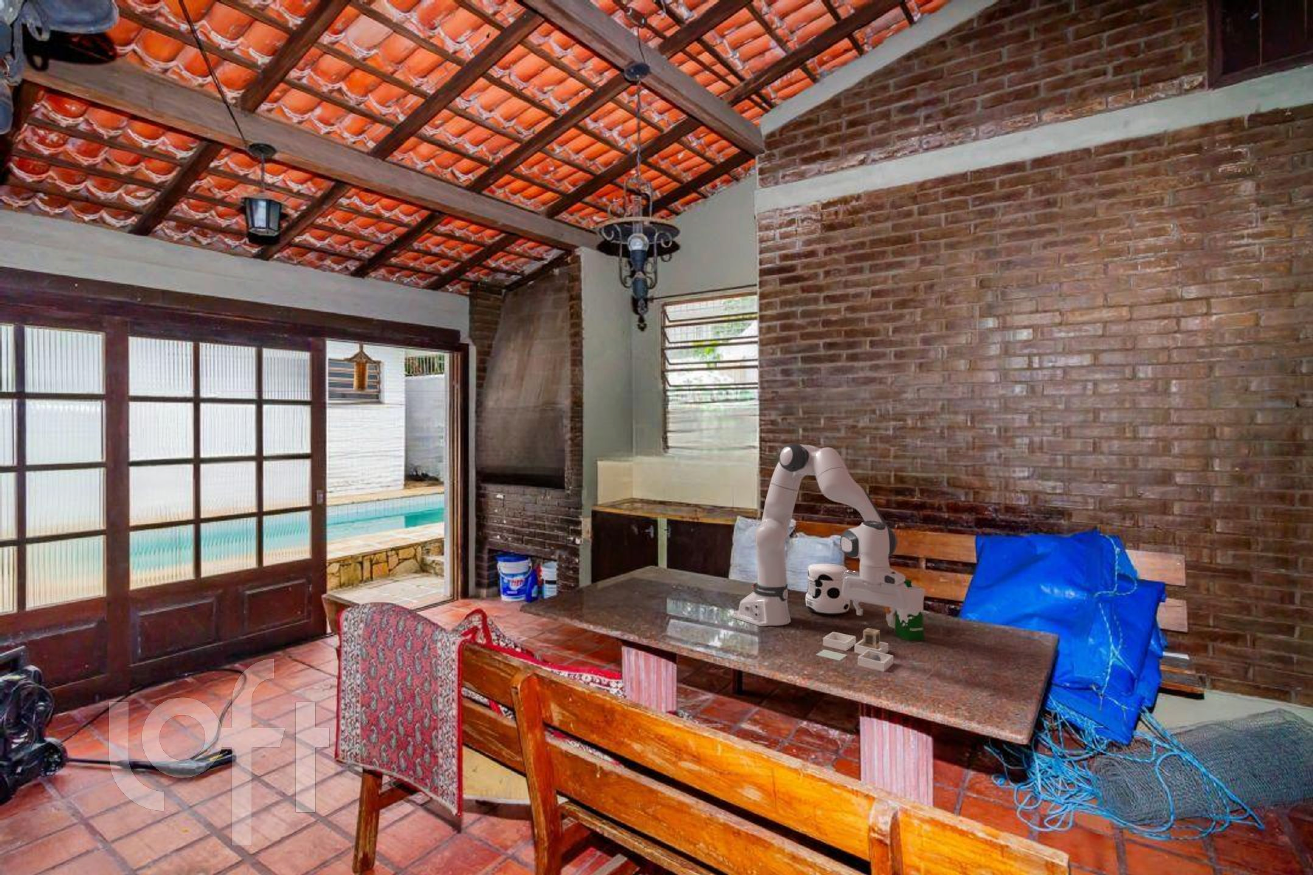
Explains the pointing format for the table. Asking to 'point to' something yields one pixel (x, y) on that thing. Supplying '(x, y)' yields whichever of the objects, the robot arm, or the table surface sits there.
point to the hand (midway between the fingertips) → (874, 617)
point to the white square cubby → (861, 649)
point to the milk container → (826, 589)
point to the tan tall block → (871, 638)
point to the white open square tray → (839, 641)
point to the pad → (831, 655)
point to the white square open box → (877, 665)
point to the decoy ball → (875, 657)
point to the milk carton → (911, 615)
